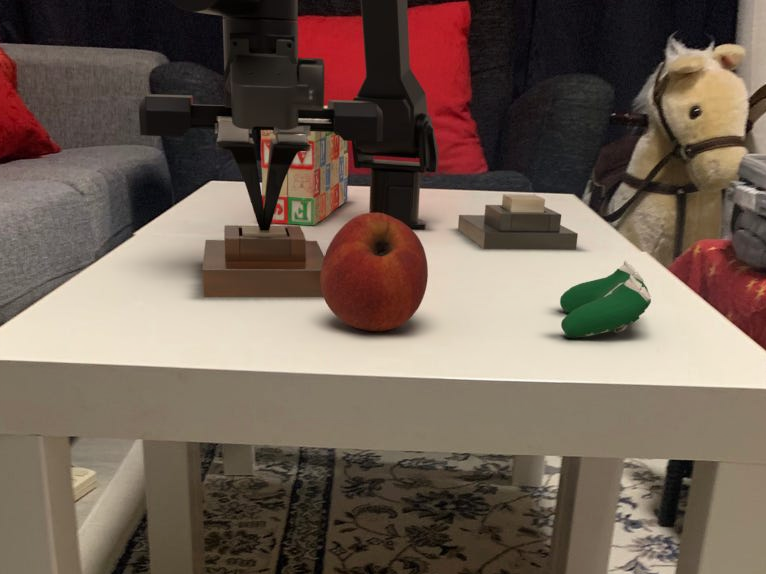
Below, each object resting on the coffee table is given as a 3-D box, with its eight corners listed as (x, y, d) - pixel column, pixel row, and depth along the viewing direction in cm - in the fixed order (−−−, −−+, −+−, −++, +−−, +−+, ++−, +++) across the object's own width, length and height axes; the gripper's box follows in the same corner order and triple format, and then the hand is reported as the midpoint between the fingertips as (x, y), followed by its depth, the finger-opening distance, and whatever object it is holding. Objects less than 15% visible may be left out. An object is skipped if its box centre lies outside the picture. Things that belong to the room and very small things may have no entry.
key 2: (501, 210, 101) (502, 194, 100) (533, 211, 102) (535, 194, 101) (510, 215, 98) (511, 198, 97) (543, 216, 98) (545, 199, 98)
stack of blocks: (302, 199, 127) (302, 100, 121) (348, 201, 126) (350, 103, 121) (261, 222, 107) (259, 106, 102) (314, 225, 107) (315, 109, 101)
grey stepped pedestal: (457, 230, 107) (459, 198, 106) (541, 231, 109) (544, 199, 107) (483, 249, 97) (486, 214, 95) (576, 250, 98) (580, 215, 97)
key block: (206, 264, 85) (204, 219, 83) (316, 265, 86) (317, 220, 85) (203, 297, 73) (201, 245, 71) (330, 297, 75) (331, 246, 73)
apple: (314, 340, 63) (314, 218, 60) (326, 312, 70) (327, 202, 67) (424, 345, 63) (430, 223, 59) (425, 317, 70) (431, 206, 66)
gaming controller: (590, 367, 66) (662, 312, 63) (556, 326, 65) (628, 269, 63) (585, 333, 74) (649, 284, 72) (555, 297, 73) (618, 246, 71)
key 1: (242, 246, 80) (241, 225, 79) (284, 247, 81) (284, 226, 80) (243, 254, 77) (242, 233, 76) (287, 255, 77) (286, 233, 77)
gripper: (124, 10, 63) (141, 246, 69) (398, 22, 66) (389, 248, 72) (138, 16, 73) (152, 222, 79) (375, 27, 76) (370, 225, 82)
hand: (264, 229), depth 78 cm, fingers closed, pressing on key 1
